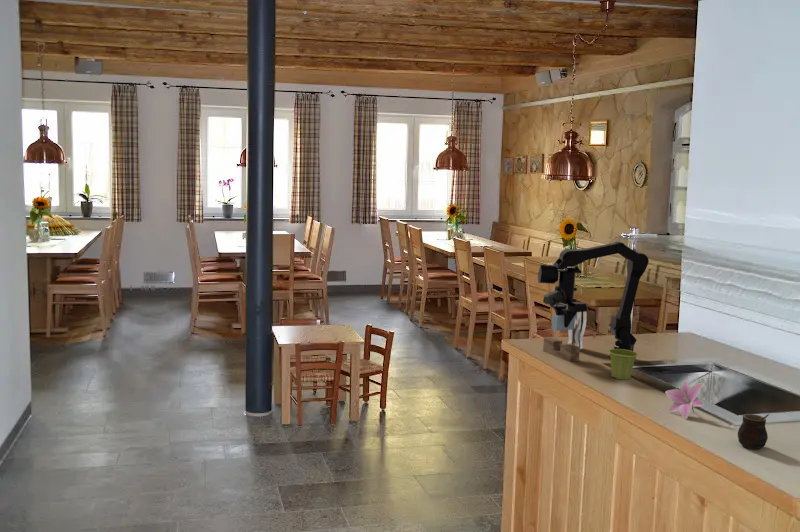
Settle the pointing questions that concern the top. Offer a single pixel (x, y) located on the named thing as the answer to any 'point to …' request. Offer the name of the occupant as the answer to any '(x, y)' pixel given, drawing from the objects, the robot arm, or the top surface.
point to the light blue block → (561, 323)
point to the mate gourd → (753, 431)
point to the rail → (561, 349)
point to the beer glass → (578, 330)
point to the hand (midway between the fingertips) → (563, 326)
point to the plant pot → (622, 363)
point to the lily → (685, 398)
